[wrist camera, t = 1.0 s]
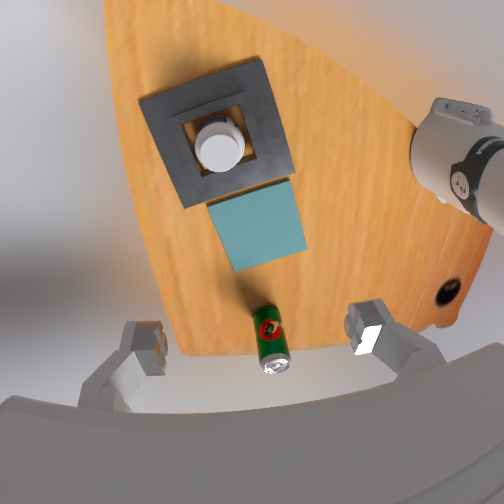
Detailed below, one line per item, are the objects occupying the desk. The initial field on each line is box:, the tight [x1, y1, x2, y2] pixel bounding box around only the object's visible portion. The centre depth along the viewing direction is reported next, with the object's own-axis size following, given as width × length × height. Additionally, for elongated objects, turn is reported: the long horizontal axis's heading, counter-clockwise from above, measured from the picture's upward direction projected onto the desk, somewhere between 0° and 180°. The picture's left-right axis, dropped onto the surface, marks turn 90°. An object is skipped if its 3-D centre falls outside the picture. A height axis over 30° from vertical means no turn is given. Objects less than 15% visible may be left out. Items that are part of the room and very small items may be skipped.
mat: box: [207, 180, 307, 272], centre depth 43 cm, size 12×12×1 cm
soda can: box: [253, 306, 291, 374], centre depth 49 cm, size 5×5×12 cm
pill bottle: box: [195, 115, 245, 172], centre depth 31 cm, size 5×5×10 cm
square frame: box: [139, 60, 295, 208], centre depth 34 cm, size 16×16×4 cm
